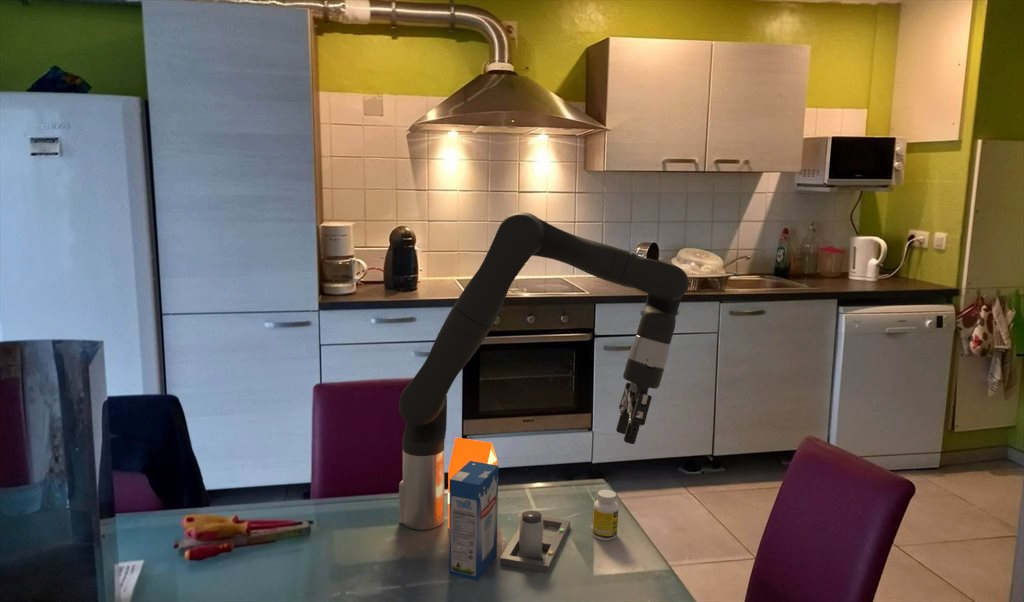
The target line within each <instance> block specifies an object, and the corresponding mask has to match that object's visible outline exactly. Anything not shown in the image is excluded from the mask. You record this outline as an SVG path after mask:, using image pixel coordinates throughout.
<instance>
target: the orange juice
mask: <svg viewBox="0 0 1024 602" xmlns="http://www.w3.org/2000/svg"><path fill="white" fill-rule="evenodd" d="M469 461H474V462H480V463H486V464H492V465H498V458H497V455H496V451H495V449H494V445H493V442H489V441H481V440H475V439H469V438H462V437H455V439H454V443H453V448H452V452H451V455H450V461H449V465H448V469H447V470H448V473H447V476H448V477H447V481H448V482H447V484H448V486H447V529H448V528H449V513H450V479H451V478H452V477H453V476H454V475H455V474H456V473H457V472H458V471H459V470H461V469H462V468H463V467H464V466H465V465H466V464H467V463H468V462H469Z"/></svg>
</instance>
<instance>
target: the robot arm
mask: <svg viewBox="0 0 1024 602" xmlns="http://www.w3.org/2000/svg"><path fill="white" fill-rule="evenodd" d="M532 256H533V257H541V258H545V259H550V260H553V261H557V262H560V263H564V264H566V265H569V266H571V267H574V268H575V269H578V270H580V271H582V272H584V273H586V274H588V275H591V276H593V277H596V278H598V279H601V280H604V281H607V282H609V283H612V284H616V285H618V286H622V287H624V288H631V289H637V290H638V291H641V292H643V293H646V294H647V297H646V301H645V306H644V310H643V313H642V314H641V318H640V321H639V323H638V328H637V330H636V334H635V337H634V340H633V342H632V343H631V348H630V351H629V355H628V356H627V360H626V365H625V368H624V371H623V375H622V378H623V379H624V380H625V381H627V382H626V383H625V388H624V390H623V393H622V397H621V400H620V403H619V406H618V409H619V414H620V415H619V417H618V421H617V425H616V429H615V430H616V432H617V433H619V434H622V435H624V436H623V441H624V443H627V444H629V445H635V443H636V441H637V436H638V434H639V430H640V428H641V427H642V426H645V424H646V420H647V415H648V412H649V409H650V405H651V401H652V399H653V397H652V395H648V392H649V389H650V388H651V389H658V388H659V387H660V385H661V382H662V378H663V375H664V372H665V368H666V364H667V360H668V357H669V352H670V346H671V345H670V344H671V342H672V338H673V335H674V332H675V328H676V322H677V321H676V317H677V314H678V310H679V307H680V303H681V301H682V297H683V296H684V295H685V294H686V293H687V291H688V289H689V283H690V282H689V277H688V275H687V273H686V271H684V269H682V268H681V267H679V266H677V265H674V264H672V263H667V262H664V261H660V260H656V259H653V258H652V259H651V258H646V257H644V256H641V255H639V254H636V253H635V252H631V251H629V250H624V249H622V248H618V247H616V246H613V245H609V244H606V243H602V242H599V241H595V240H592V239H588V238H585V237H581V236H577V235H575V234H572V233H570V232H568V231H565V230H564V229H563V230H562V229H560V228H559V227H556V226H553V225H552V224H550V223H549V222H547V221H545V220H542V219H540V218H539V217H538V216H536V215H535V214H532V213H530V212H517V213H513V214H510V215H509V216H506V217H505V219H503V221H502V222H501V223H500V225H498V228H497V231H496V233H495V235H494V238H493V240H492V242H491V245H490V247H489V249H488V251H487V253H486V255H485V257H484V259H483V261H482V262H481V265H480V266H479V268H478V269H477V270H476V273H475V274H474V275H473V276H472V277H471V279H470V281H469V282H468V283H467V285H466V286H465V288H464V289H463V291H462V292H461V294H460V296H459V297H458V298H457V299H456V301H455V303H454V305H453V307H452V308H451V310H450V311H449V312H448V315H447V316H446V318H445V320H444V322H443V324H442V326H441V328H440V330H439V331H438V333H437V335H436V338H435V340H434V343H433V344H432V347H431V349H430V351H429V353H428V355H427V358H426V359H425V361H424V362H423V364H422V366H421V367H420V369H419V370H418V371H417V373H416V374H415V375H414V376H413V378H412V380H411V381H410V382H409V383H408V384H407V385H406V386H405V387H404V389H403V390H402V391H401V394H400V396H399V399H398V400H399V401H398V408H399V409H398V410H399V413H400V415H401V417H402V419H403V420H404V421H405V424H404V425H405V426H404V427H405V428H404V432H403V434H402V444H401V445H402V447H401V448H402V480H401V481H400V482H399V483H398V495H399V496H398V499H399V500H398V504H399V507H398V508H399V514H398V516H399V523H400V524H403V525H405V527H408V528H410V529H413V530H418V531H420V530H421V531H423V530H432V529H436V528H437V527H440V526H441V525H442V524H443V523H444V521H445V442H446V441H445V440H446V435H447V421H448V419H447V418H448V417H447V415H448V413H447V412H448V392H449V391H450V389H451V386H452V385H453V383H454V381H455V380H456V378H457V377H458V375H459V374H460V372H461V371H462V370H463V369H464V367H465V366H467V364H468V362H470V360H471V358H472V357H473V356H474V354H476V352H477V351H478V350H479V348H480V346H481V345H482V344H483V343H484V341H485V339H486V337H488V334H489V333H490V331H491V329H492V327H493V326H494V324H495V323H496V321H497V318H498V316H499V314H500V312H501V310H502V308H503V305H504V302H505V300H506V297H507V294H508V292H509V289H510V287H511V285H512V283H513V282H514V281H515V279H516V277H517V276H518V275H519V274H520V272H521V270H522V269H523V267H524V266H525V265H526V264H527V262H528V261H529V260H530V258H531V257H532Z"/></svg>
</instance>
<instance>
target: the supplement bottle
mask: <svg viewBox="0 0 1024 602" xmlns="http://www.w3.org/2000/svg"><path fill="white" fill-rule="evenodd" d="M596 498H597V500H595V501H594V503H593V513H592V529H591V531H592V532H591V533H592V536H593V537H594V538H596V539H597V540H600V541H612V540H614V539H615V538H616V537H617V536H618V535H617V534H618V524H619V522H618V521H619V504H618V503H617V502H616V500H617V493H616V492H615V491H614V490H610V489H601V490H598V492H597V497H596Z"/></svg>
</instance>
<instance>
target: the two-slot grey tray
mask: <svg viewBox="0 0 1024 602" xmlns="http://www.w3.org/2000/svg"><path fill="white" fill-rule="evenodd" d="M541 516H542V517H543V527H548V528H553V529H558V530H557V532H556V534H555V536H554V537H553V536H546V535H543V545H542V551H547V552H546V554H545V556H544V559H543V560H540V561H539V560H533V559H528V558H522V557H519V556H516V555H515V553H516V551H517V549H519V533H520V525H519V527H518V528H517V529H516V531H515V533H514V534H513V536H512V537H511V539H510V541H509V542H508V543H507V546H506V548H505V549H504V551H503V553H502V554H501V555H500V558H499V565H502V566H507V567H512V568H517V569H523V570H527V571H535V572H540V573H545V574H549V573H550V570H551V568H552V567H553V564H554V561H555V559H556V557H557V555H558V553H559V551H560V549H561V547H562V544H563V543H564V540H565V538H566V536H567V534H568V532H569V530H570V528H571V520H566V519H560V518H554V517H548V516H543V515H541ZM514 555H515V556H514Z"/></svg>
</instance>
